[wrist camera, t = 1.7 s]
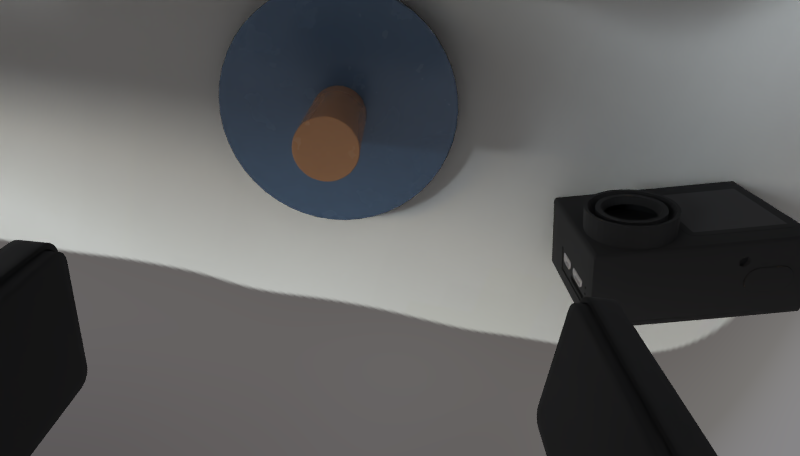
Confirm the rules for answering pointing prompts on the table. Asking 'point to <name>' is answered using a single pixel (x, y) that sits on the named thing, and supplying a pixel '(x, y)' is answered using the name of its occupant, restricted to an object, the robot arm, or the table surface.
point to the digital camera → (679, 252)
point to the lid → (338, 104)
